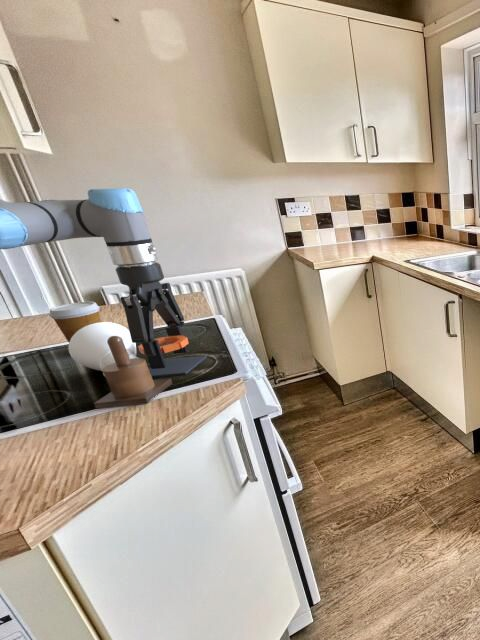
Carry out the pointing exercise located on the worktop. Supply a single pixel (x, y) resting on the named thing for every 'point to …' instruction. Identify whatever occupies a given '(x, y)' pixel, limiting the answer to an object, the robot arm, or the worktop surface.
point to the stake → (128, 379)
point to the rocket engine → (99, 344)
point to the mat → (177, 366)
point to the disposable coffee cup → (75, 317)
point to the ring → (176, 344)
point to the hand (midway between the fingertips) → (170, 359)
